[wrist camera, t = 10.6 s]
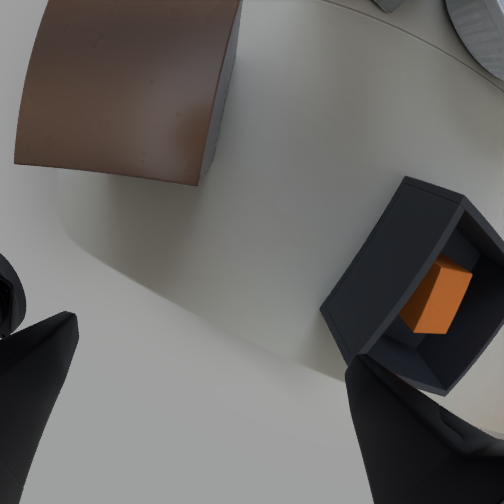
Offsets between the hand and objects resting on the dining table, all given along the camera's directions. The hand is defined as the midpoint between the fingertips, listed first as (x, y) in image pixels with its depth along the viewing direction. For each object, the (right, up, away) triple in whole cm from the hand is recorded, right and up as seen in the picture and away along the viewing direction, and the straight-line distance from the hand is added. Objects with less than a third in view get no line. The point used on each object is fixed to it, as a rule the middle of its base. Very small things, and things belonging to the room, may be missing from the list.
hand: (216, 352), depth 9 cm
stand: (-4, +12, +8) cm, 15 cm away
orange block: (+14, +1, +13) cm, 19 cm away
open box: (+14, +1, +14) cm, 20 cm away
